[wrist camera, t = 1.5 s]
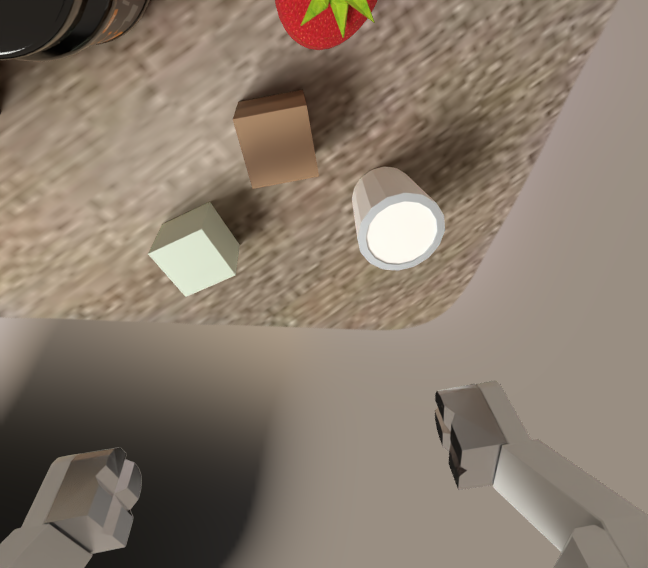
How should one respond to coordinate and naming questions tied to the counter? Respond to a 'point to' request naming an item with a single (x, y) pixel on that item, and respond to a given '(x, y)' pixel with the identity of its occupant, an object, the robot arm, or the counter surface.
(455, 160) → the counter surface
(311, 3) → the strawberry
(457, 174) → the counter surface
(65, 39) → the supplement container
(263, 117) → the walnut block
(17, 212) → the counter surface
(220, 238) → the sage block
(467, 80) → the counter surface
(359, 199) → the shot glass
